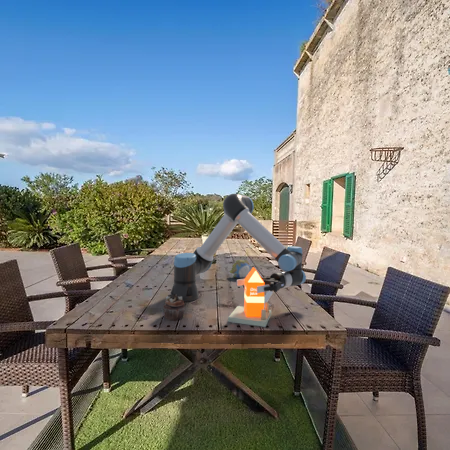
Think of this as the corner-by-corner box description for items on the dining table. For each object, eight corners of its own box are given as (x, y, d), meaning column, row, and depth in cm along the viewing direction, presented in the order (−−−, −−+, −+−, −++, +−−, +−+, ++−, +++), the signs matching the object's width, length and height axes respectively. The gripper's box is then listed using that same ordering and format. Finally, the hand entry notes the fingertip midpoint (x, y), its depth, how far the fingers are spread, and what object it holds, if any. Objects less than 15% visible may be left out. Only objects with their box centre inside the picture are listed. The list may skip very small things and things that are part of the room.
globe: (246, 258, 201) (248, 256, 216) (225, 264, 204) (229, 261, 218) (252, 277, 201) (253, 273, 215) (231, 282, 203) (233, 278, 218)
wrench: (252, 308, 144) (252, 306, 144) (262, 291, 175) (263, 290, 175) (269, 310, 142) (269, 308, 142) (277, 293, 172) (277, 291, 172)
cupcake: (189, 317, 129) (190, 294, 129) (172, 322, 122) (172, 299, 122) (175, 311, 136) (176, 290, 135) (158, 316, 129) (158, 294, 128)
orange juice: (260, 310, 134) (261, 266, 134) (264, 316, 125) (265, 270, 125) (243, 310, 134) (244, 266, 134) (245, 316, 125) (247, 269, 125)
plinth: (228, 321, 125) (228, 307, 125) (237, 309, 140) (238, 297, 140) (265, 326, 120) (266, 312, 120) (271, 314, 135) (271, 301, 135)
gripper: (300, 294, 131) (266, 302, 118) (261, 282, 151) (229, 288, 138) (301, 277, 130) (267, 283, 118) (262, 268, 150) (229, 272, 138)
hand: (246, 286), depth 128 cm, fingers open, 13 cm apart
